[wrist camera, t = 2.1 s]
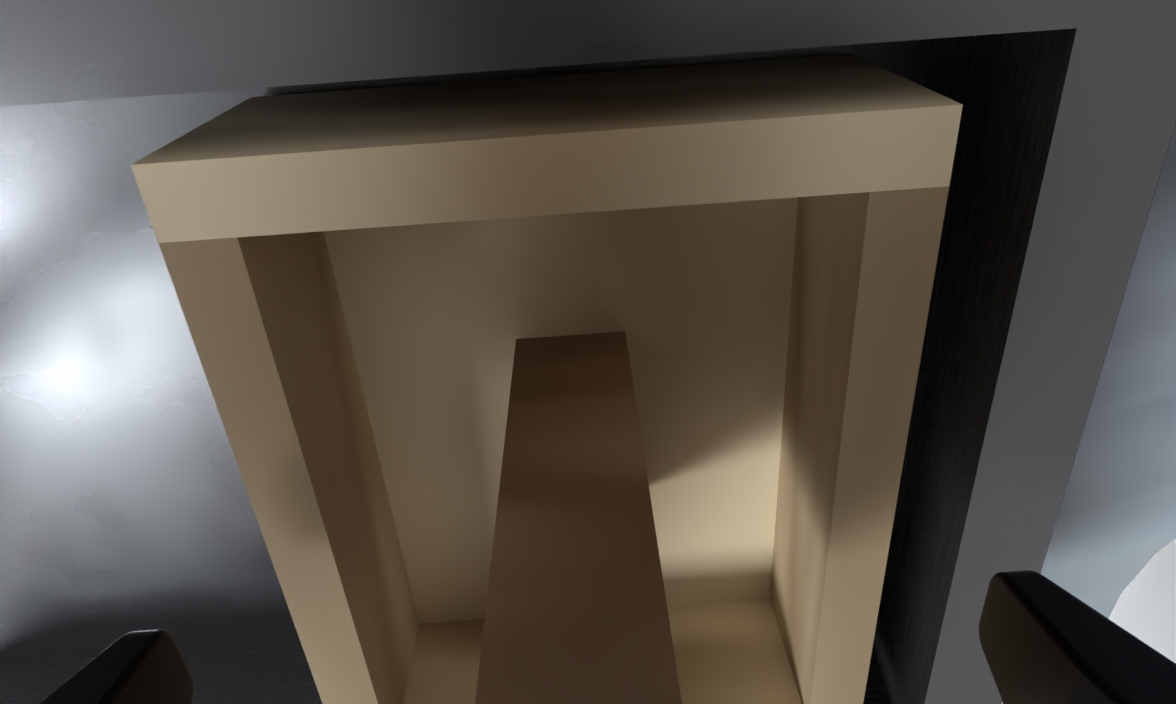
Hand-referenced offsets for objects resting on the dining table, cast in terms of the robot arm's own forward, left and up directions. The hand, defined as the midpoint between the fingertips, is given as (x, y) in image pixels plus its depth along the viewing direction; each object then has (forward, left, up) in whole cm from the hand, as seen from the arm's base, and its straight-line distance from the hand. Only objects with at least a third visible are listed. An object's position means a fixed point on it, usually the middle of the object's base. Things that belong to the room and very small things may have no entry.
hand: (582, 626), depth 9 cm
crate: (0, 0, -5) cm, 5 cm away
